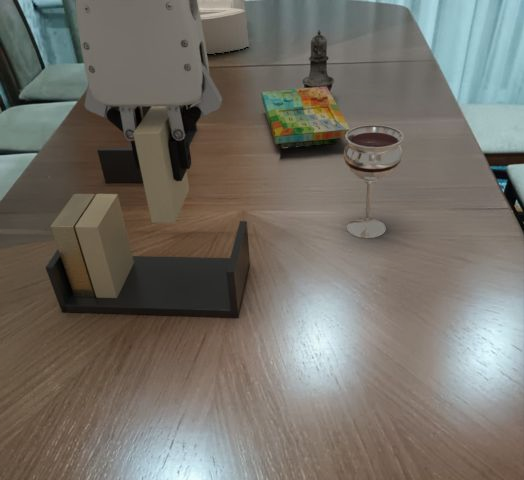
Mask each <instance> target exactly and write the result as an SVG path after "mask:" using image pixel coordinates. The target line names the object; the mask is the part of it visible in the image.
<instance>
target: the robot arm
mask: <svg viewBox="0 0 524 480" xmlns="http://www.w3.org/2000/svg"><path fill="white" fill-rule="evenodd" d="M75 10H76V12H75V13H76V21H77V28H78V29H77V30H78V37H79V44H80V48H81V55H82V61H83V65H84V71H85V74H86V80H87V86H86V87H87V88H86V94H85V99H84V103H83V104H84V108H85V110H86V111H88V112H89V113H92V114H94V115H97V116H99V117H101V118H103V119H107V120H108V121H109V122H110V123H111V124H113V126H115V127H116V128H117V129H119V130H120V131H121V132H122V133H123V136H124V138H125V139H126V140H127V141H129V142H130V146H131V145H132V150H133V154H134V159H135V164H136V167H137V169H140V164H139V159H138V154H137V149H136V145H135V140H134V135H133V133H134V131H135V130H136V128H137V127H138V125H139V124H140V123H141V121H142V120H143V111H142V106H166V109H167V114H168V119H169V123H170V128H171V132H170V135H171V138H170V140H169V142H168V147H169V153H170V159H171V165H172V171H173V177H174V180H176V181H182V179H183V177H184V175H185V173H186V171H187V170H190V168H191V166H192V157H191V156H192V155H191V149H190V148H191V147H190V146H189V141H188V134H187V133H188V132H189V131H190V130H191V128H192V127H193V126H194V125H195V124H196V123H197V122H199V120H200V119H202V118H204V117H207V116H209V115H210V114H213V113H215V112H216V111H218V110H220V108H221V106H222V104H223V101H224V100H223V99H224V98H223V96H222V95H221V92H220V91H219V89H218V87H217V86H216V84H215V82H214V80H213V78H212V77H211V75H210V65H209V60H208V59H209V58H208V55H207V51H206V45H205V39H204V33H203V28H202V22H201V17H200V12H199V7H198V3H197V0H75ZM190 104H191V105H190ZM187 105H190V107H189V108H188V106H187Z"/></svg>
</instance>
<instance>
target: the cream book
mask: <svg viewBox="0 0 524 480" xmlns="http://www.w3.org/2000/svg"><path fill="white" fill-rule="evenodd" d="M170 132H171V128H170V123H169V119H168V114H167V109H166V106H152V107H151V108H150V109H149V111H148V112H147V114H146V115H145V117H144V118H143V120H142V121H141V123H140V124H139V125H138V127H137V128H136V130H135V131H134V133H133V135H134V140H135V145H136V149H137V154H138V159H139V164H140V169H141V174H142V178H143V183H144V184H143V188H144V192H145V193H144V194H145V197H146V203H147V207H148V212H149V216H150V221H151V224H176V222H177V219H178V218H179V215H180V213H181V211H182V208H183V205H184V204H185V201H186V198H187V197H188V194H189V192H190V185H189V179H188V178H189V177H188V172H187V170H186V173H185V175H184V177H183V179H182V181H176V180H174V177H173V171H172V165H171V159H170V153H169V147H168V142H169V140H170V138H171V135H170Z"/></svg>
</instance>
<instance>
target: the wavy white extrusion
mask: <svg viewBox="0 0 524 480" xmlns="http://www.w3.org/2000/svg"><path fill="white" fill-rule="evenodd" d="M197 3H198V7H199V12H200V17H201V22H202V28H203V33H204V39H205V45H206V51H207V53H214V52H222V51H228V50H233V49H238V48H242V47H246V46H249V47H250V44H249V43H250V42H249V32H248V22H247V21H248V20H247V11H246V6H245V0H197Z"/></svg>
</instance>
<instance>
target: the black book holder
mask: <svg viewBox="0 0 524 480" xmlns="http://www.w3.org/2000/svg"><path fill="white" fill-rule="evenodd" d="M50 230H51V232H52V235H53V238H54V241H55V244H56V247H57V250H56V251H55V252H54V254H53V256H52V257H51V258H50V260H49V261H48V263H47V264H46V266H45V271H46V273H47V275H48V279H49V281H50V285H51V287H52V290H53V292H54V295H55V298H56V300H57V302H58V306H59V309H60V311H61V313H84V314H85V313H86V314H112V315H113V314H118V315H146V316H147V315H148V316H174V317H202V318H203V317H207V318H210V317H211V318H234V319H236V318H237V319H239V318H240V314H241V308H242V305H243V300H244V295H245V291H246V285H247V282H248V278H249V273H250V269H251V268H250V267H251V258H250V245H249V233H248V232H249V230H248V221H247V220H240V221H239V224H238V227H237V231H236V235H235V237H234V243H233V245H232V248H231V253H230V256H229V257H200V256H199V257H197V256H151V255H150V256H149V255H147V256H146V255H145V256H144V255H133V253H132V249H131V248H132V247H131V244H130V240H129V236H128V232H127V228H126V223H125V219H124V215H123V211H122V206H121V203H120V197H119V194H118V193H96V194H95V193H73V195H72V196H71V197H70V199H69V201H68V202H67V203H66V204H65V205H64V207H63V208H62V210H61V211H60V213H59V214H58V215H57V217H56V218H55V219H54V221H53V222H52V224H51V225H50Z"/></svg>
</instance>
